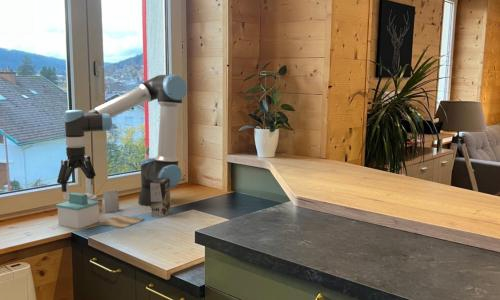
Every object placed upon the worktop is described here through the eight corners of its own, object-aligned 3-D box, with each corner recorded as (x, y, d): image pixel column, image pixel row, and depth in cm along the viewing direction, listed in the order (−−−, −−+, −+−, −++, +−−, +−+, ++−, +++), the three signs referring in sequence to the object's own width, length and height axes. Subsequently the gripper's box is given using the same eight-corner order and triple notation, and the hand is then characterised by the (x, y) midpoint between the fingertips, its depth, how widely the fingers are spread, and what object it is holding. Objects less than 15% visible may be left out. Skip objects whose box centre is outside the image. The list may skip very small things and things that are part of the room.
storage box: (80, 217, 215) (79, 200, 214) (99, 221, 209) (98, 203, 208) (58, 224, 204) (57, 206, 203) (78, 228, 199) (77, 210, 198)
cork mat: (120, 215, 218) (120, 215, 218) (144, 220, 212) (144, 219, 212) (97, 223, 206) (97, 222, 206) (122, 228, 199) (122, 227, 199)
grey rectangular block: (119, 210, 227) (118, 190, 226) (105, 213, 223) (104, 192, 221) (116, 209, 230) (115, 189, 228) (102, 211, 226) (101, 191, 224)
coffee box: (164, 217, 216) (162, 183, 212) (151, 216, 217) (149, 182, 214) (171, 210, 224) (170, 178, 221) (158, 210, 226) (157, 177, 222)
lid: (79, 202, 215) (78, 189, 214) (100, 205, 209) (100, 192, 208) (55, 209, 203) (55, 195, 202) (77, 213, 197) (76, 198, 196)
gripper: (90, 142, 214) (92, 189, 217) (45, 149, 193) (48, 200, 196) (102, 143, 211) (104, 191, 214) (58, 150, 190) (61, 203, 193)
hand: (77, 196), depth 205 cm, fingers open, 12 cm apart
